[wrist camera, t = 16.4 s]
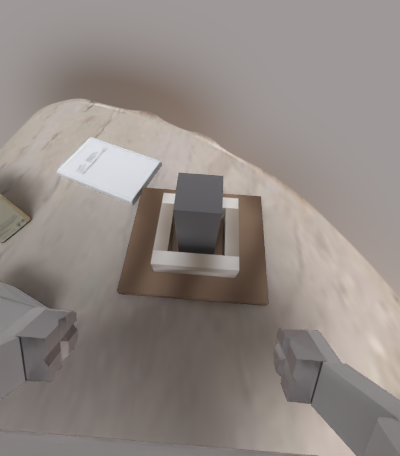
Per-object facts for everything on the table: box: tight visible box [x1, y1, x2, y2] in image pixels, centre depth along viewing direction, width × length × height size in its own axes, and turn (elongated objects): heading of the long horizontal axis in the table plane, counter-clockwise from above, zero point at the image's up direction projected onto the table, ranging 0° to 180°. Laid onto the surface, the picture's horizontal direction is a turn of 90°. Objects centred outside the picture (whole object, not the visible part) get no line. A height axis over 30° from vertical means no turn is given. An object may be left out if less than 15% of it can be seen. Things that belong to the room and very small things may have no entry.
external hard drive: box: [57, 137, 162, 205], centre depth 33 cm, size 2×8×12 cm
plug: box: [173, 173, 223, 255], centre depth 23 cm, size 4×4×9 cm
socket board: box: [117, 188, 269, 306], centre depth 27 cm, size 16×14×4 cm
